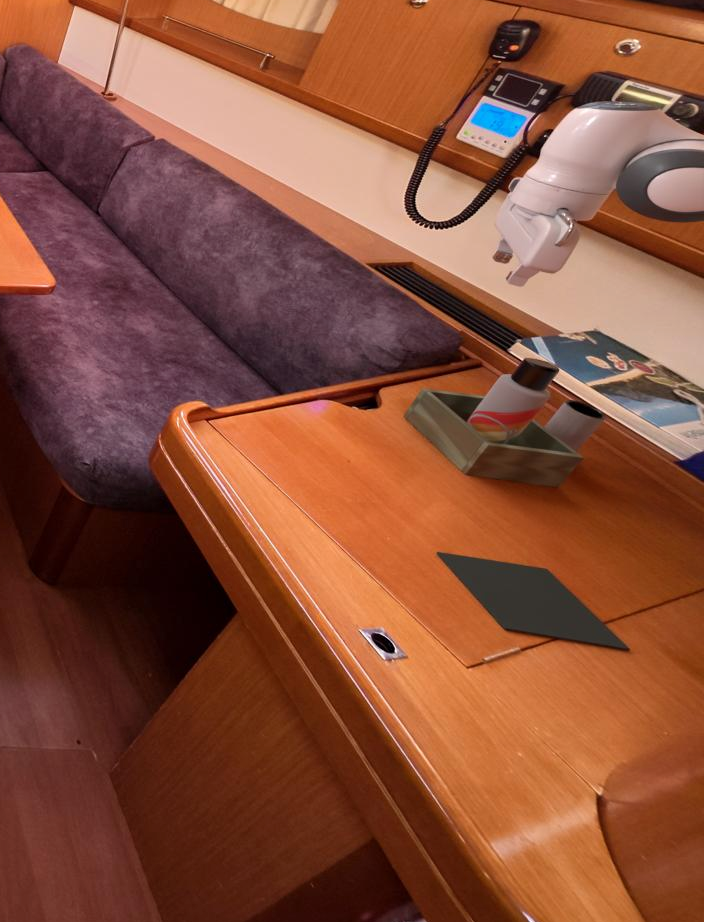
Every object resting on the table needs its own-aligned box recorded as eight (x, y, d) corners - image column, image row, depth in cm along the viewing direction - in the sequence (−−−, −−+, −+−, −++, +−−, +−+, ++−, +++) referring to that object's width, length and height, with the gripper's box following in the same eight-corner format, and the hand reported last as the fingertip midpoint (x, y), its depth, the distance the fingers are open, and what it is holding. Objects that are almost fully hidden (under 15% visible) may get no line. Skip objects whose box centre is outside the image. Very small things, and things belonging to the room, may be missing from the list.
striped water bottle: (469, 458, 108) (537, 370, 99) (444, 434, 113) (507, 348, 104) (508, 465, 107) (581, 377, 98) (481, 440, 112) (549, 354, 103)
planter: (530, 438, 113) (565, 395, 108) (568, 453, 110) (606, 410, 105) (529, 450, 110) (565, 407, 106) (569, 466, 107) (607, 423, 103)
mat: (545, 570, 90) (547, 568, 90) (628, 650, 80) (630, 649, 80) (436, 553, 92) (437, 551, 92) (504, 630, 82) (506, 628, 82)
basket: (485, 426, 115) (506, 398, 112) (558, 487, 103) (584, 457, 100) (402, 416, 117) (422, 388, 114) (465, 474, 105) (488, 445, 102)
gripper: (610, 228, 90) (552, 306, 96) (564, 185, 105) (516, 255, 111) (546, 215, 93) (494, 291, 100) (510, 175, 108) (467, 244, 114)
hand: (505, 272), depth 105 cm, fingers open, 8 cm apart
